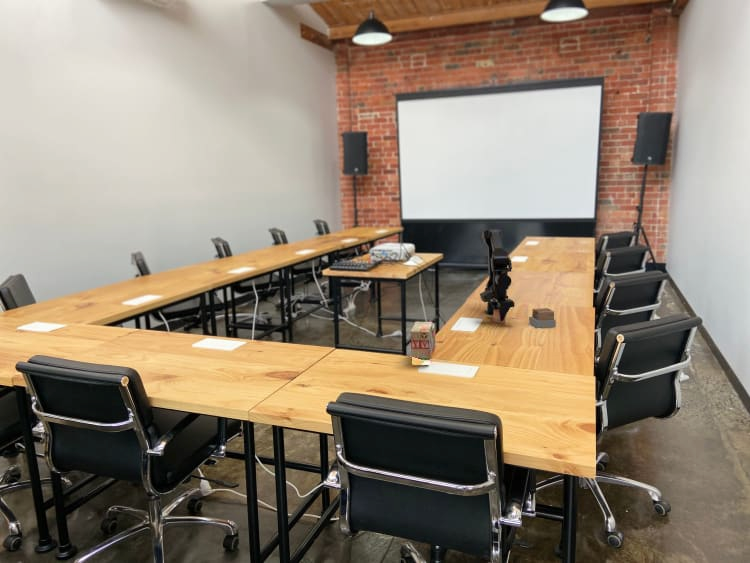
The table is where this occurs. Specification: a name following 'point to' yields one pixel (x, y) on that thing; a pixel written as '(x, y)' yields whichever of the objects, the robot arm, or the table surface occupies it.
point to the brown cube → (497, 317)
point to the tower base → (542, 323)
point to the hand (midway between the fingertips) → (499, 319)
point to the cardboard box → (423, 340)
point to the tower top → (543, 314)
